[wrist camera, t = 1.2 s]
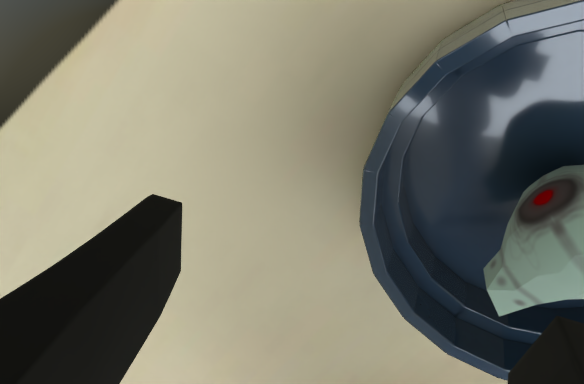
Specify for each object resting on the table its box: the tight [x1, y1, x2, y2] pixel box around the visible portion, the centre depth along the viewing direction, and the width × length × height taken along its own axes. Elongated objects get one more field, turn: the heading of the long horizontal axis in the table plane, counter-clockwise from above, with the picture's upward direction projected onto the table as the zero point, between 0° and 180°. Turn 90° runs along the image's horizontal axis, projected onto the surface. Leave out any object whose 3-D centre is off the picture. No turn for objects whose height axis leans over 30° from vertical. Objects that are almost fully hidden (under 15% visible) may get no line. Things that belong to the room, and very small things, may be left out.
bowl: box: [359, 0, 584, 380], centre depth 20 cm, size 15×15×4 cm
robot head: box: [483, 165, 584, 316], centre depth 19 cm, size 8×4×7 cm, turn 135°
